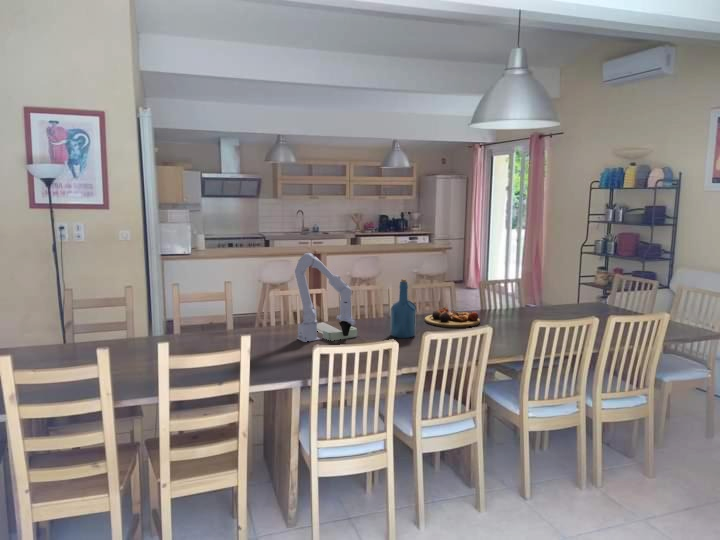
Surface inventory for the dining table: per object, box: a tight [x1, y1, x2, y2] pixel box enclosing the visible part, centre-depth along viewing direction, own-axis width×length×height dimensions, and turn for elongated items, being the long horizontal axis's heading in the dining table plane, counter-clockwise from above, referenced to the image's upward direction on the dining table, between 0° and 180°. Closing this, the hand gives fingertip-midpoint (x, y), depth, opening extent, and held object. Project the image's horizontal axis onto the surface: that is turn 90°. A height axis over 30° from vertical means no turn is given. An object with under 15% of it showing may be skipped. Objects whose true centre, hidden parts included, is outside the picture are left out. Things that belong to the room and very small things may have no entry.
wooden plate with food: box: [424, 307, 481, 329], centre depth 313 cm, size 32×32×8 cm
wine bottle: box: [389, 278, 417, 339], centre depth 279 cm, size 14×13×30 cm
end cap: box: [322, 325, 358, 342], centre depth 277 cm, size 17×7×4 cm, turn 124°
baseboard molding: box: [317, 321, 342, 335], centre depth 290 cm, size 31×3×12 cm
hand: (345, 335), depth 273 cm, fingers closed
